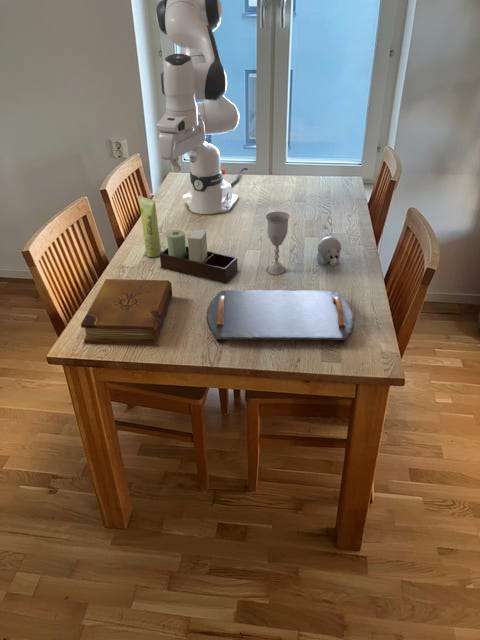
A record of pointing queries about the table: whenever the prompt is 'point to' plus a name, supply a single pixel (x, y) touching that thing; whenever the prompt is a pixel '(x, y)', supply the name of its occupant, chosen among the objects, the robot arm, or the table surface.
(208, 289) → the table surface
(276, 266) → the chalice
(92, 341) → the diary
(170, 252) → the towel roll
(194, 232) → the cosmetic box
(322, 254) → the round bodied animal figurine
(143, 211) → the tube
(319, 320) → the serving tray
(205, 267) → the rack
